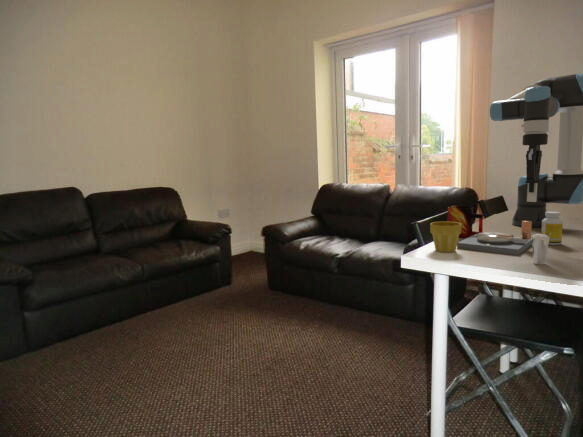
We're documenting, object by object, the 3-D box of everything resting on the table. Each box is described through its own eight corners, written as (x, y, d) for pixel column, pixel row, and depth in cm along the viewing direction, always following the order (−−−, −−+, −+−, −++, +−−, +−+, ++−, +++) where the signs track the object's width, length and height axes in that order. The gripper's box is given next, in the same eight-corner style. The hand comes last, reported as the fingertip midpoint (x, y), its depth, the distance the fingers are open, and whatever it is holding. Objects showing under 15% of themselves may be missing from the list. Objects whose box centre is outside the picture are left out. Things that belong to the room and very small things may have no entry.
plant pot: (424, 251, 149) (425, 224, 148) (436, 246, 157) (437, 220, 155) (454, 255, 142) (455, 226, 141) (465, 249, 150) (466, 222, 149)
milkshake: (543, 266, 125) (545, 233, 124) (527, 262, 130) (528, 230, 129) (554, 264, 127) (556, 232, 126) (537, 261, 132) (539, 229, 130)
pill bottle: (564, 245, 152) (566, 213, 150) (544, 245, 153) (546, 213, 152) (557, 241, 158) (559, 211, 157) (538, 241, 160) (539, 211, 158)
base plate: (475, 239, 168) (475, 233, 167) (532, 244, 155) (532, 238, 154) (456, 248, 153) (457, 242, 152) (518, 255, 140) (518, 248, 139)
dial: (472, 241, 153) (473, 220, 152) (482, 236, 162) (483, 216, 161) (526, 247, 141) (527, 224, 140) (534, 241, 150) (535, 219, 149)
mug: (482, 239, 167) (483, 209, 165) (445, 237, 173) (445, 208, 172) (484, 235, 175) (485, 206, 173) (449, 233, 182) (449, 205, 180)
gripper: (527, 134, 153) (524, 199, 156) (518, 133, 143) (515, 202, 147) (551, 133, 148) (547, 200, 152) (543, 132, 139) (539, 203, 142)
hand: (531, 201), depth 149 cm, fingers closed
